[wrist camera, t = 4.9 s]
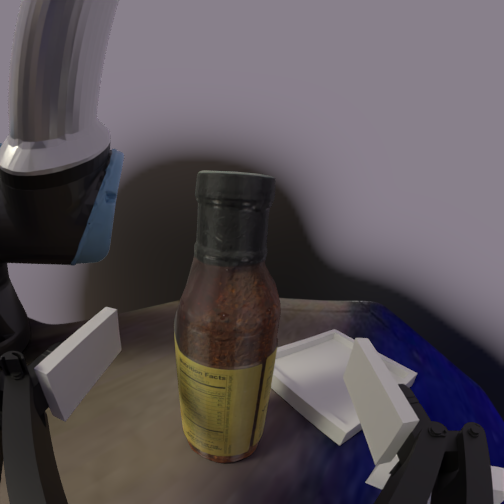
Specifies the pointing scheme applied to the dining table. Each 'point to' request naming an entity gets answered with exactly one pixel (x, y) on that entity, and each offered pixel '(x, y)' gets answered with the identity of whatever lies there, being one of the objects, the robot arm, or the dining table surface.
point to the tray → (324, 382)
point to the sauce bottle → (228, 318)
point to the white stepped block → (500, 479)
